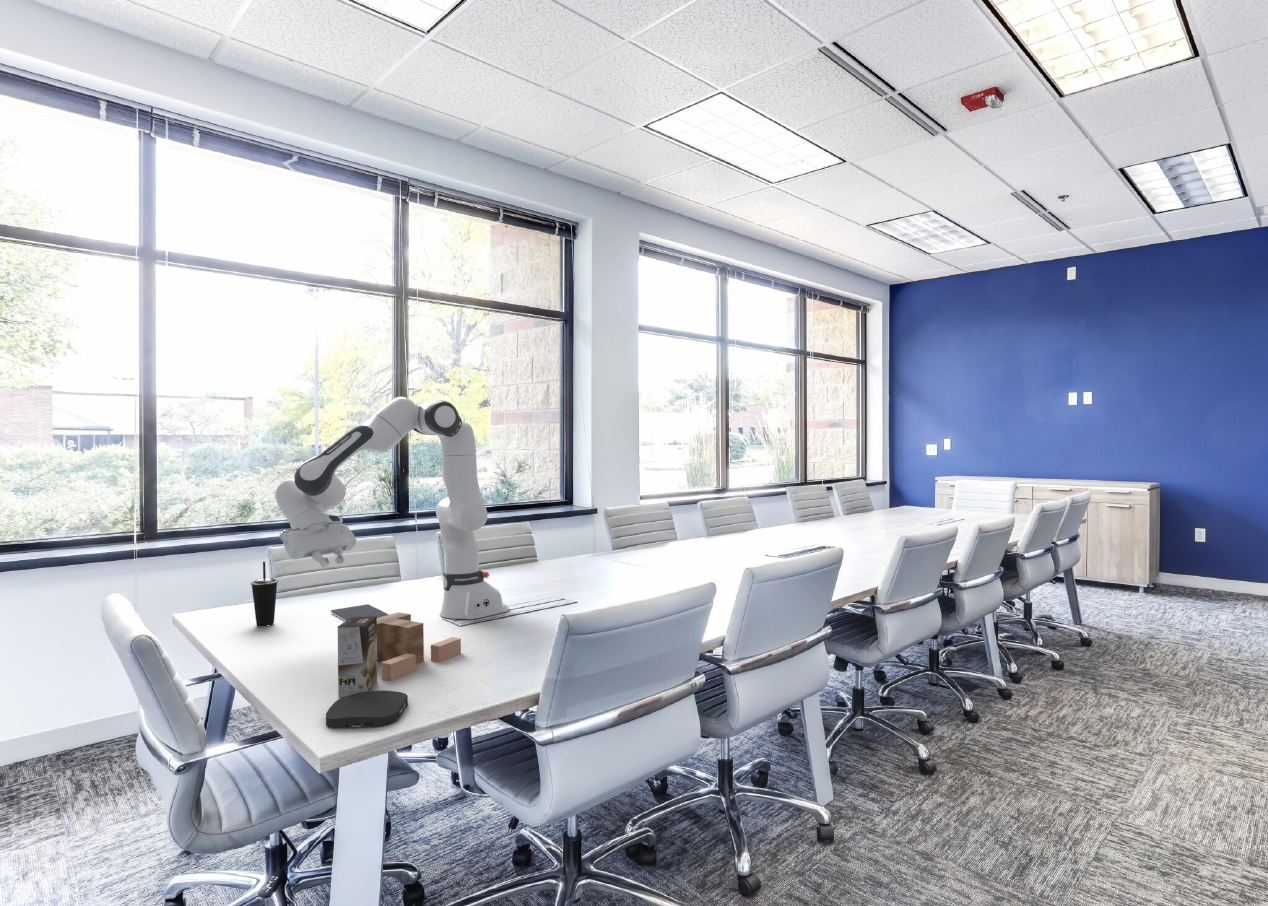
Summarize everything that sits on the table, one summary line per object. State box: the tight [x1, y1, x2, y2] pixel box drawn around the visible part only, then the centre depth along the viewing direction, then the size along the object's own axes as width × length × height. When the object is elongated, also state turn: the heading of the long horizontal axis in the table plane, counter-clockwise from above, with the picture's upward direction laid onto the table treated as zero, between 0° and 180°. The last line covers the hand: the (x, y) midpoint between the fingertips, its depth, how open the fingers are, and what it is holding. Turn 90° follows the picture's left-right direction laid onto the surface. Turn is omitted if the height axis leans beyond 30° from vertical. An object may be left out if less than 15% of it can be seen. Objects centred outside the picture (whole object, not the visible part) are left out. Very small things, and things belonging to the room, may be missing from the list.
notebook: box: [330, 604, 390, 622], centre depth 228 cm, size 13×2×21 cm
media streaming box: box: [325, 689, 409, 730], centre depth 146 cm, size 15×15×3 cm
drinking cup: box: [250, 561, 279, 627], centre depth 218 cm, size 8×8×20 cm
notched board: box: [381, 636, 462, 681], centre depth 178 cm, size 3×24×4 cm, turn 151°
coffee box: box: [336, 617, 378, 698], centre depth 160 cm, size 9×6×16 cm
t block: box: [377, 611, 425, 665], centre depth 182 cm, size 15×15×10 cm
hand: (334, 563), depth 194 cm, fingers open, 3 cm apart
